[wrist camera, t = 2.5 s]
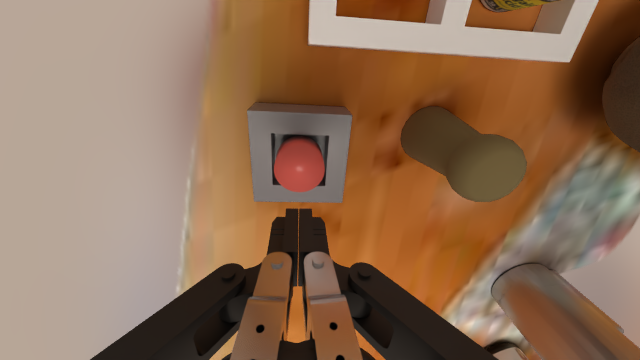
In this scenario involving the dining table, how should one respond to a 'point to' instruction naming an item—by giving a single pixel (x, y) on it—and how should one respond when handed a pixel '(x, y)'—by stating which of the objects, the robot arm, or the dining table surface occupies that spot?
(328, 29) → the window frame
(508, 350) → the spread jar
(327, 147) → the button housing
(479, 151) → the olive gourd
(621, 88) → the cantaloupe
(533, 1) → the supplement bottle
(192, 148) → the dining table surface
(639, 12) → the dining table surface
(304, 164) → the button
